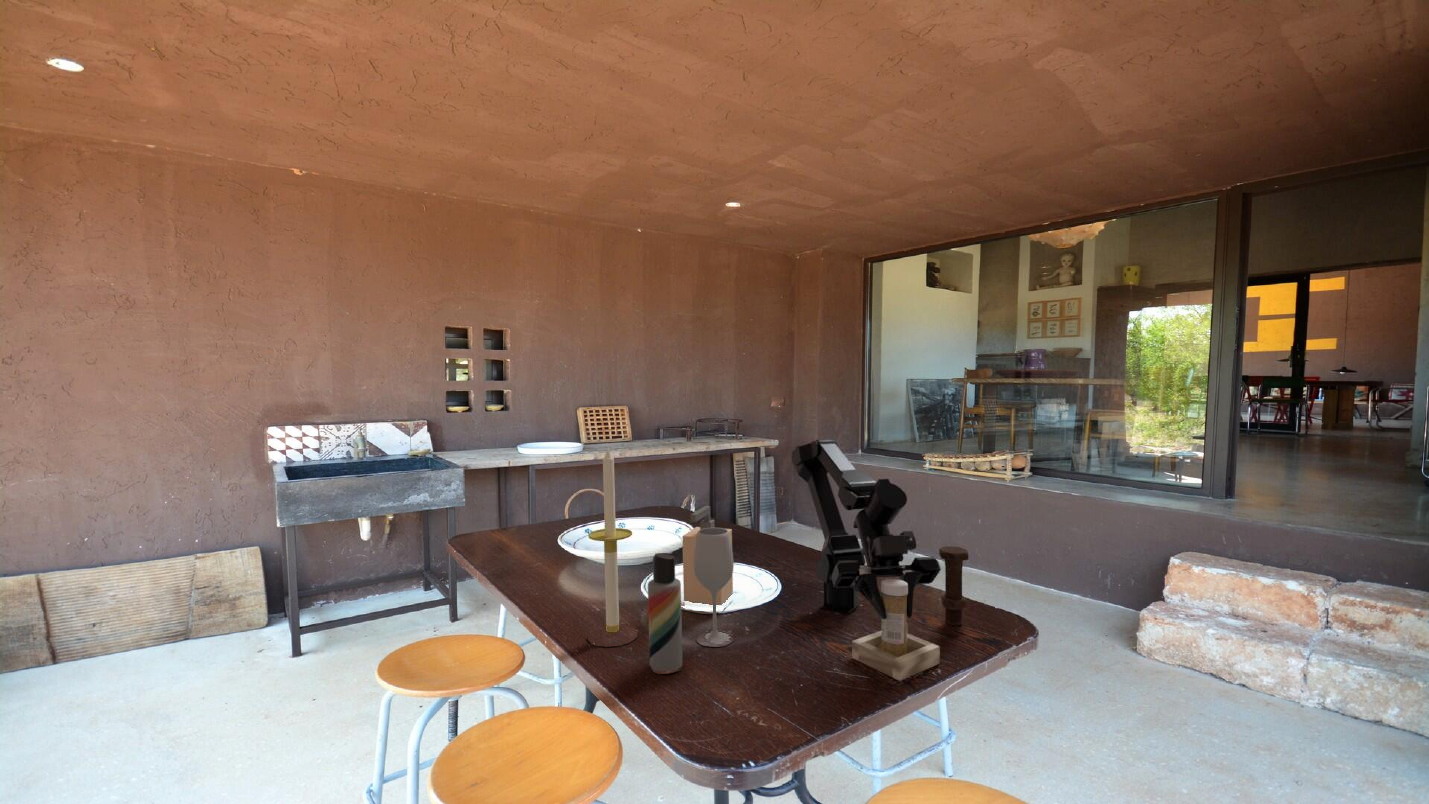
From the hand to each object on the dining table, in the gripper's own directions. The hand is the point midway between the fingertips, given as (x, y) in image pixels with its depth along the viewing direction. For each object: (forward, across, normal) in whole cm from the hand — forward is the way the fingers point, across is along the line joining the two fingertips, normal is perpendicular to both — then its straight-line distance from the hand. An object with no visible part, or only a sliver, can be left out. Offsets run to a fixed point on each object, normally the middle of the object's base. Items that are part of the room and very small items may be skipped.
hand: (897, 617), depth 108 cm
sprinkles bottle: (+5, 0, +6) cm, 8 cm away
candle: (-6, -50, +19) cm, 54 cm away
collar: (+5, 0, +6) cm, 8 cm away
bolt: (-5, +18, +17) cm, 25 cm away
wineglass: (-4, -31, +16) cm, 35 cm away
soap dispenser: (-15, -31, +28) cm, 44 cm away
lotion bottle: (+4, -40, +8) cm, 41 cm away
